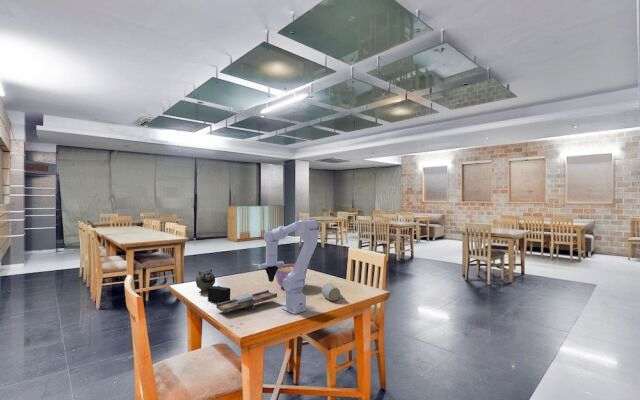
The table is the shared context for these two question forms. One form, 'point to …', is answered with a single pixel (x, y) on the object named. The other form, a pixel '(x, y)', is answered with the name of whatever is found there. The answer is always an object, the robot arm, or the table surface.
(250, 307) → the pivot stand
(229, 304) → the beam
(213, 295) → the digital camera
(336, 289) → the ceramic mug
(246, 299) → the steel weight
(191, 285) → the table surface
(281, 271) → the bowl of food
